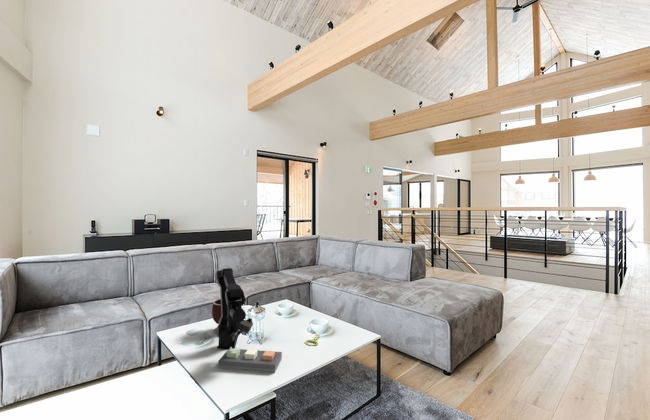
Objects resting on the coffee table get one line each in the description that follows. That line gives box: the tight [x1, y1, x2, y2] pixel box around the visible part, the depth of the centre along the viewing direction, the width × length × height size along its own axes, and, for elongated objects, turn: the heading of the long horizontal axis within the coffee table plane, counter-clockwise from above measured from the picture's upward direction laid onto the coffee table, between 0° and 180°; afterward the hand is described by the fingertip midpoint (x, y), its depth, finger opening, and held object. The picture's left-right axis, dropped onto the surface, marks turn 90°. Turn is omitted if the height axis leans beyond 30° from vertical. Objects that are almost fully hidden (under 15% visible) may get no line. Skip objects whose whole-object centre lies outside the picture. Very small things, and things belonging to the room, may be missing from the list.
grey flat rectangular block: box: [217, 348, 283, 374], centre depth 143 cm, size 26×12×4 cm, turn 84°
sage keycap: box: [226, 347, 241, 358], centre depth 144 cm, size 5×5×2 cm
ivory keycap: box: [244, 348, 259, 359], centre depth 143 cm, size 5×5×2 cm
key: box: [304, 333, 321, 347], centre depth 168 cm, size 7×12×2 cm, turn 173°
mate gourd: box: [211, 298, 221, 335], centre depth 181 cm, size 16×14×20 cm
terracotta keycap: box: [263, 350, 276, 361], centre depth 142 cm, size 5×5×2 cm
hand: (233, 348), depth 144 cm, fingers closed
